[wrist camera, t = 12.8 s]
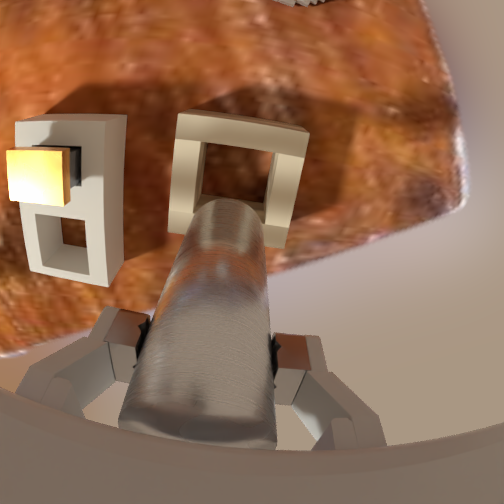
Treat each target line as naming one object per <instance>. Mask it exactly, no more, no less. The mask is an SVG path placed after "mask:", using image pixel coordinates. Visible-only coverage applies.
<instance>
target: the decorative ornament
mask: <svg viewBox="0 0 504 504" xmlns="http://www.w3.org/2000/svg"><path fill="white" fill-rule="evenodd" d="M274 1H277V2H280V3H283V4H286V5H288V6H291V7H294V4H295V2H296V3H298V4H301V5H303V6H306V7H308V5H309V3H312V4H315V5H316V3H317V1H318V0H274ZM319 1H321V2H324V1H325V0H319Z"/></svg>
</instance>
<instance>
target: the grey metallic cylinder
mask: <svg viewBox="0 0 504 504" xmlns="http://www.w3.org/2000/svg"><path fill="white" fill-rule="evenodd" d="M118 425H119V428H121V429H125V430H129V431H133V432H138V433H142V434H147V435H152V436H157V437H162V438H168V439H173V440H179V441H186V442H192V443H199V444H207V445H215V446H224V447H235V448H247V449H263V450H275V449H276V446H277V429H276V413H275V395H274V378H273V362H272V347H271V331H270V317H269V303H268V287H267V273H266V259H265V246H264V232H263V226H262V222H261V220H260V218H259V216H258V215H257V213H256V212H255V211H254V210H253V209H252V208H251V207H250V206H248V205H247V204H245V203H243V202H241V201H238V200H234V199H216V200H213V201H210V202H208V203H206V204H205V205H203V206H202V207H201V208H199V209H198V211H197V212H196V213H195V214H194V216H193V218H192V220H191V222H190V225H189V227H188V229H187V232H186V234H185V237H184V239H183V241H182V244H181V246H180V249H179V251H178V254H177V256H176V258H175V261H174V263H173V266H172V268H171V271H170V273H169V276H168V278H167V281H166V284H165V286H164V289H163V291H162V294H161V297H160V299H159V302H158V304H157V307H156V310H155V312H154V315H153V318H152V321H151V323H150V326H149V329H148V331H147V334H146V337H145V340H144V343H143V345H142V348H141V351H140V354H139V357H138V360H137V363H136V366H135V369H134V372H133V374H132V377H131V380H130V384H129V387H128V390H127V393H126V396H125V399H124V402H123V405H122V409H121V412H120V415H119V418H118Z"/></svg>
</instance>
